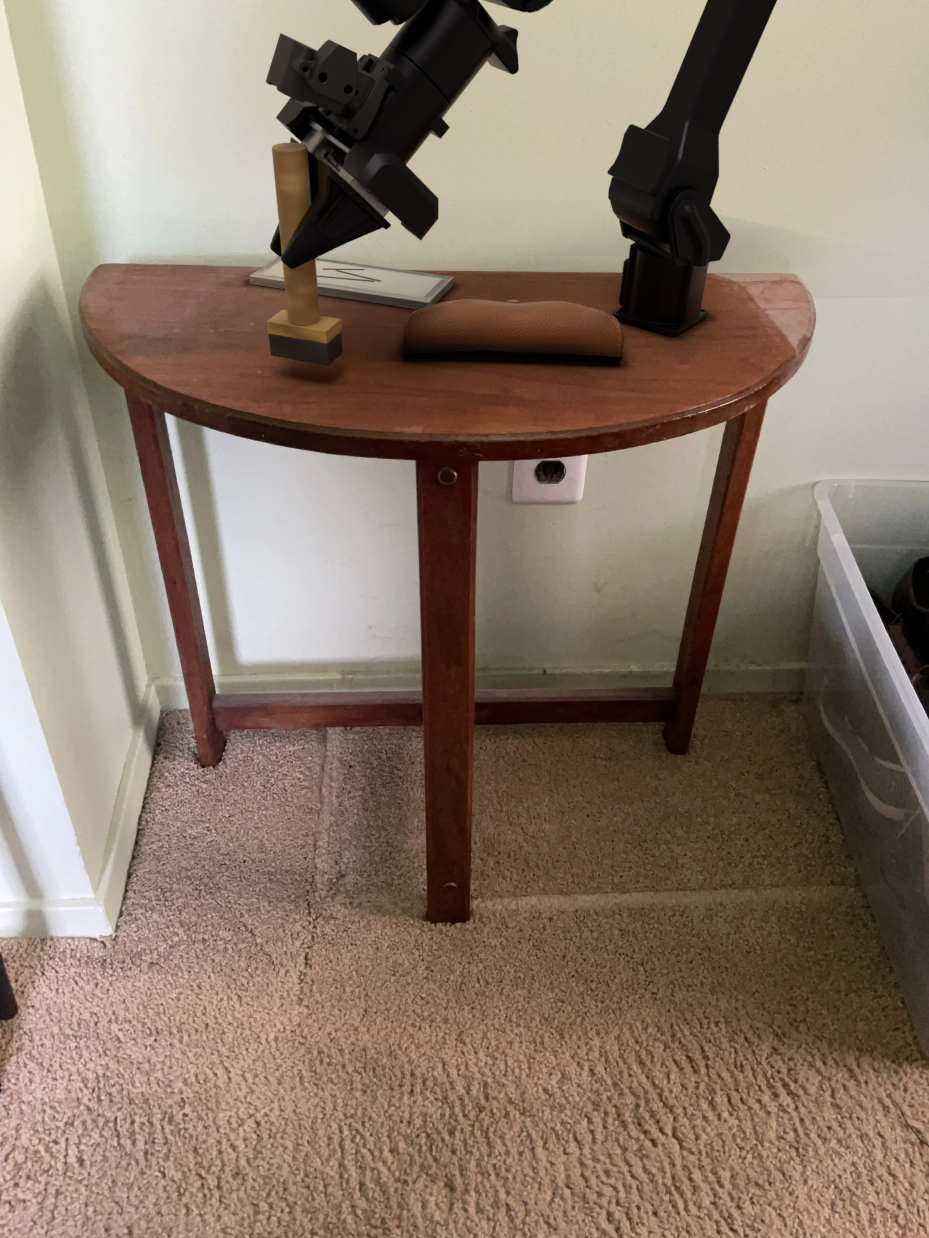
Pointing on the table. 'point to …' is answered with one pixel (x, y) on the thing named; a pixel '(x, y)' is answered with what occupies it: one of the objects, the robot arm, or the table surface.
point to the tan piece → (299, 271)
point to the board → (365, 282)
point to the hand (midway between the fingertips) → (280, 258)
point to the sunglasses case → (513, 328)
